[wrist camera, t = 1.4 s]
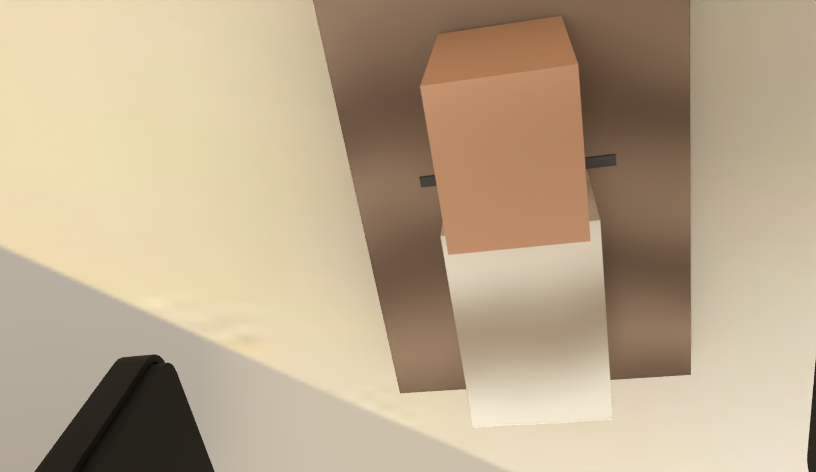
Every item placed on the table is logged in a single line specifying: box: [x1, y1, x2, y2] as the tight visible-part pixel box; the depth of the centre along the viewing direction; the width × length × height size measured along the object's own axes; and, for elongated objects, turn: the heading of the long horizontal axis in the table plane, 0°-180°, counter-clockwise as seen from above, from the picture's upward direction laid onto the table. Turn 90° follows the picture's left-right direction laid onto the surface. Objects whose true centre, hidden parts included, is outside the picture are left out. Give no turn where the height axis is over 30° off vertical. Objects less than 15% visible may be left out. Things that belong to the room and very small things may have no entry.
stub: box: [420, 16, 591, 255], centre depth 23 cm, size 5×4×6 cm
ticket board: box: [313, 0, 691, 428], centre depth 25 cm, size 24×12×6 cm, turn 10°
